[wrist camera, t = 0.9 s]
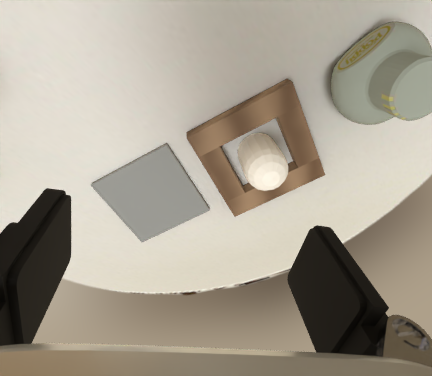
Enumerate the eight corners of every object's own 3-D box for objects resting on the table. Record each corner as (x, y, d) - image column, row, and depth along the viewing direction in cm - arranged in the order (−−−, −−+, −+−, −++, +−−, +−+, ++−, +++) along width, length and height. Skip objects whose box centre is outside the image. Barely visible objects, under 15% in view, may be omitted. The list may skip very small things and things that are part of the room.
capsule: (250, 126, 38) (264, 151, 31) (283, 142, 40) (303, 169, 33) (230, 159, 40) (239, 190, 33) (262, 174, 42) (278, 205, 35)
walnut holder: (287, 78, 35) (292, 82, 33) (319, 168, 42) (325, 174, 40) (186, 132, 38) (186, 138, 36) (232, 209, 44) (234, 216, 43)
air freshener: (344, 126, 39) (389, 157, 31) (311, 80, 36) (350, 101, 27) (420, 65, 36) (493, 81, 27) (391, 7, 32) (465, 6, 24)
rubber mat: (166, 143, 38) (166, 144, 38) (209, 207, 44) (209, 210, 43) (92, 182, 40) (90, 185, 40) (142, 239, 46) (141, 242, 45)
